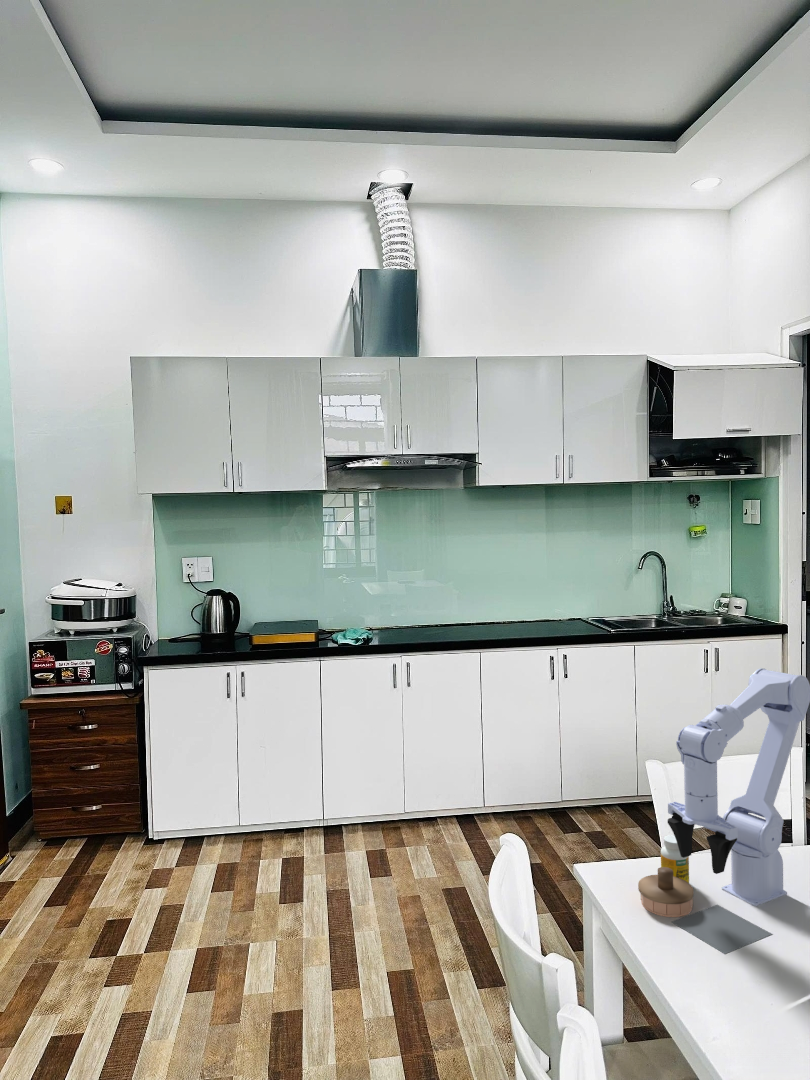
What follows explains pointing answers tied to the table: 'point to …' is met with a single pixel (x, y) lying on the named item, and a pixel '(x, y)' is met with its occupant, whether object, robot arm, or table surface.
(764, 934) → the mat
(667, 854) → the supplement bottle
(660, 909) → the bowl
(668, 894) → the lid
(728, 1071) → the table surface
